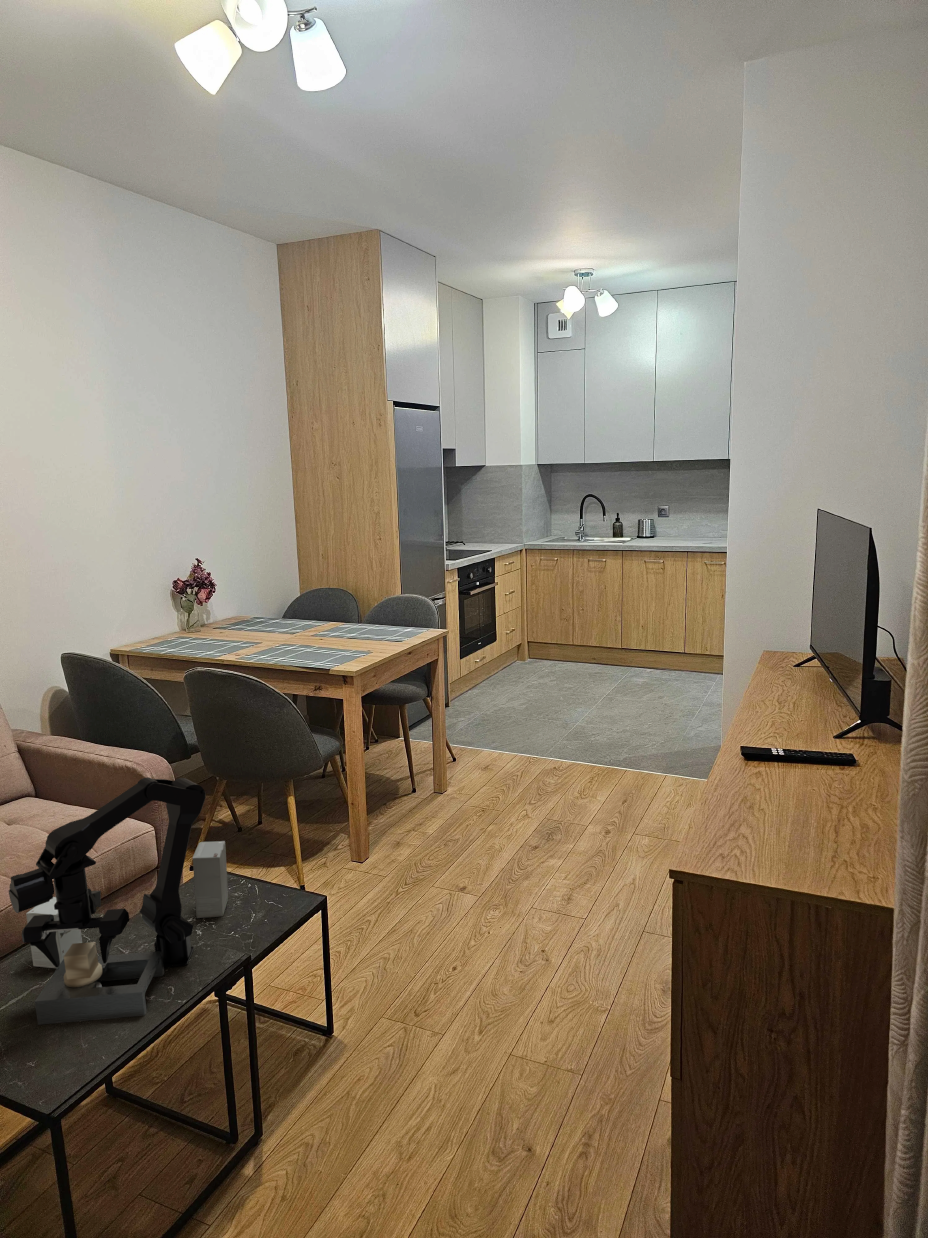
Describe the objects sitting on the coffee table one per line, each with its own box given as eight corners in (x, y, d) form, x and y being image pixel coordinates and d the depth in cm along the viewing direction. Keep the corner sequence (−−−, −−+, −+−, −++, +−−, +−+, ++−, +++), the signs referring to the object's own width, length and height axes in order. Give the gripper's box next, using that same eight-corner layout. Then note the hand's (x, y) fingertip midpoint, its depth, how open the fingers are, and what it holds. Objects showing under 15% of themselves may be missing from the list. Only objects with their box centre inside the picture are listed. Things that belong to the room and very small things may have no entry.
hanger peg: (110, 985, 170) (104, 938, 168) (97, 1006, 163) (91, 958, 161) (75, 987, 169) (68, 941, 167) (61, 1009, 162) (54, 961, 160)
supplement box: (62, 969, 177) (55, 915, 174) (32, 967, 178) (24, 913, 176) (84, 950, 184) (77, 897, 181) (55, 947, 185) (48, 895, 183)
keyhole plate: (164, 972, 174) (161, 951, 173) (144, 1015, 160) (141, 992, 159) (66, 981, 172) (63, 959, 172) (38, 1025, 159) (34, 1001, 158)
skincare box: (202, 902, 203) (196, 841, 200) (232, 899, 203) (226, 838, 201) (195, 920, 194) (188, 857, 192) (226, 917, 195) (220, 854, 192)
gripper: (133, 868, 171) (141, 938, 173) (39, 876, 169) (50, 945, 172) (115, 896, 160) (124, 969, 162) (15, 904, 158) (26, 977, 161)
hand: (81, 964), depth 165 cm, fingers open, 9 cm apart
